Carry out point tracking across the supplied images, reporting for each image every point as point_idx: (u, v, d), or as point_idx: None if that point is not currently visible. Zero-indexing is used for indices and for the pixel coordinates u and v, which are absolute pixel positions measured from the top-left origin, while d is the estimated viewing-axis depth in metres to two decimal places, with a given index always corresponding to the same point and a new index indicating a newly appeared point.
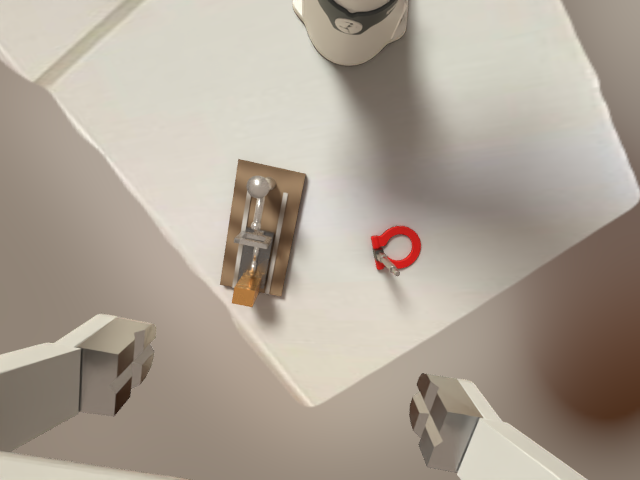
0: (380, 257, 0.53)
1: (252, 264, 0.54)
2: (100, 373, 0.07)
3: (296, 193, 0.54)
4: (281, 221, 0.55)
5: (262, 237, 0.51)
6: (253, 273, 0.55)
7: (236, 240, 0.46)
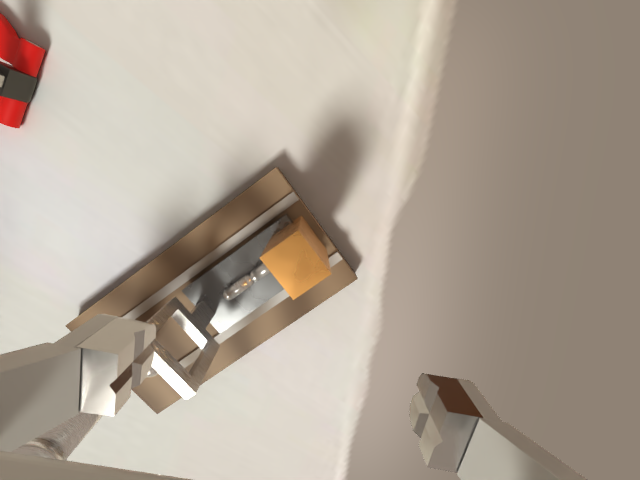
0: None
1: (258, 277, 0.24)
2: (100, 373, 0.07)
3: (102, 310, 0.27)
4: (160, 292, 0.26)
5: (178, 320, 0.22)
6: None
7: (186, 393, 0.18)
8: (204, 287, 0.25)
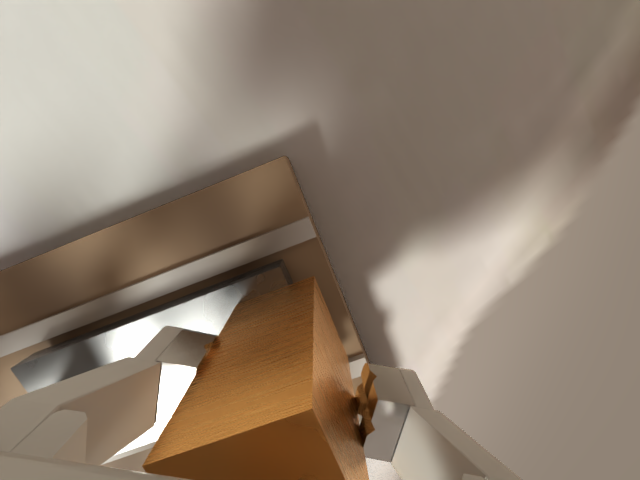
0: None
1: None
2: (177, 386, 0.07)
3: None
4: None
5: None
6: None
7: None
8: (63, 373, 0.11)
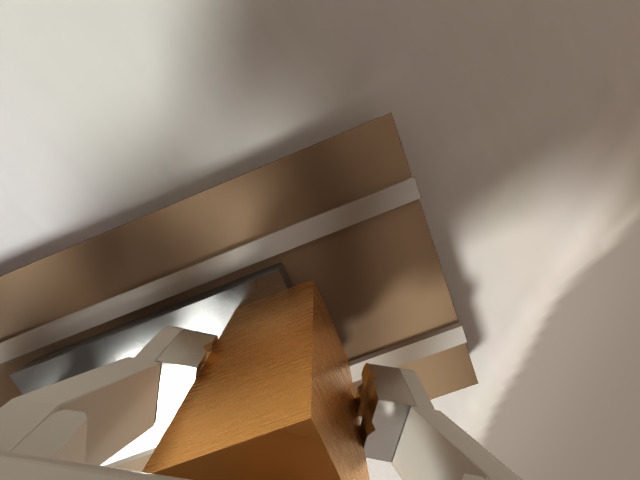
0: None
1: None
2: (177, 386, 0.07)
3: None
4: (65, 322, 0.12)
5: None
6: None
7: None
8: (62, 379, 0.11)
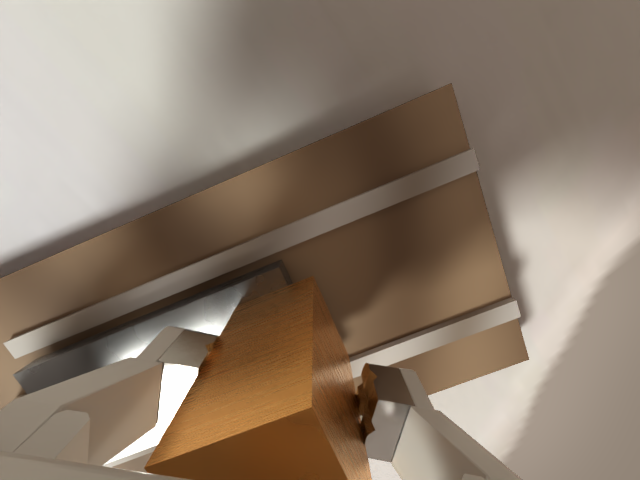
0: None
1: None
2: (179, 386, 0.07)
3: None
4: (119, 300, 0.12)
5: None
6: None
7: None
8: (66, 378, 0.11)
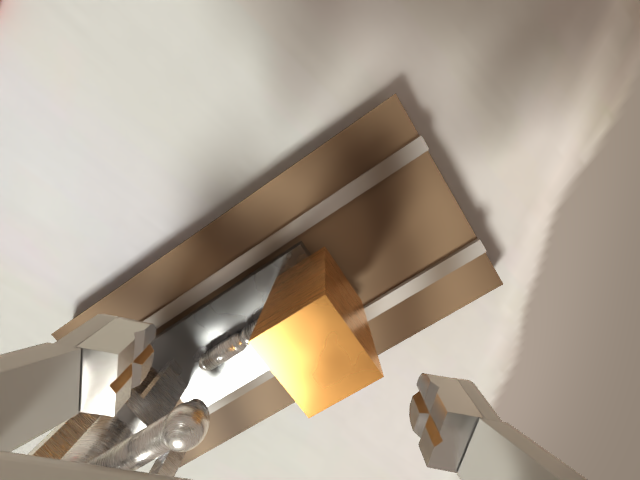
0: None
1: None
2: (100, 373, 0.07)
3: None
4: (195, 290, 0.17)
5: (119, 413, 0.14)
6: None
7: None
8: (172, 347, 0.16)
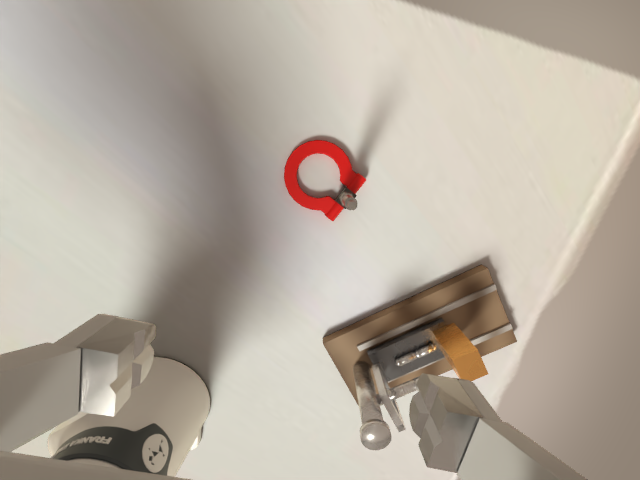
0: None
1: (421, 356, 0.39)
2: (100, 373, 0.07)
3: (350, 337, 0.41)
4: (392, 332, 0.40)
5: None
6: (432, 347, 0.39)
7: (400, 428, 0.33)
8: (382, 355, 0.40)
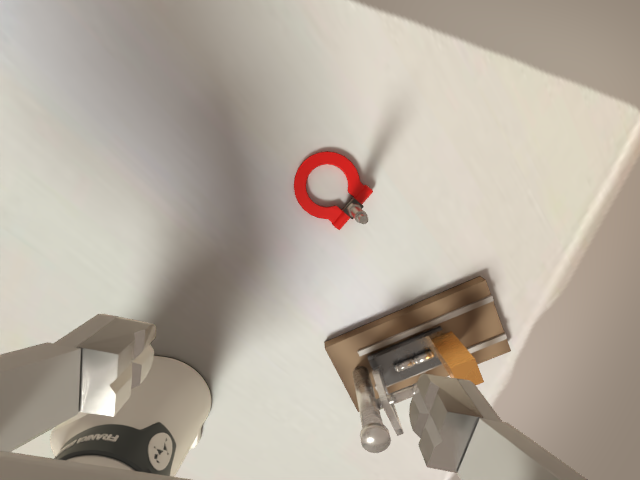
0: None
1: (419, 362, 0.40)
2: (100, 373, 0.07)
3: (351, 343, 0.42)
4: (392, 338, 0.42)
5: None
6: (430, 355, 0.40)
7: (398, 432, 0.35)
8: (382, 360, 0.41)
